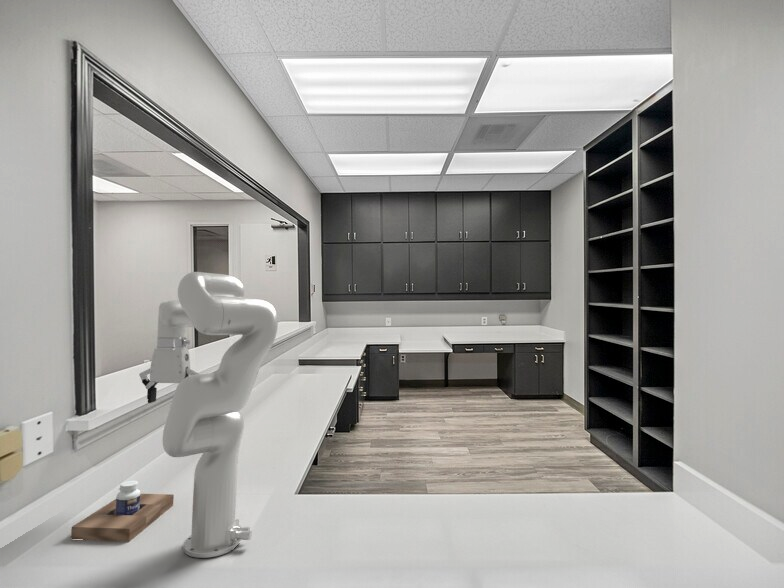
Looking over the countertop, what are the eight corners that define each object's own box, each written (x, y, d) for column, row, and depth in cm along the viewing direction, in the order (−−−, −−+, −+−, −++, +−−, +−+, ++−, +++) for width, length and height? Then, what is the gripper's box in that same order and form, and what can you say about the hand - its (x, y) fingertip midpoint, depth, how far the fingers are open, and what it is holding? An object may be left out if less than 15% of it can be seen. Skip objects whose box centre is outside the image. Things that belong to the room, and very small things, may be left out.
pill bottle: (127, 527, 109) (129, 488, 109) (109, 525, 110) (111, 486, 110) (143, 518, 114) (145, 480, 115) (126, 515, 115) (128, 478, 116)
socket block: (173, 505, 122) (173, 494, 122) (129, 541, 102) (129, 528, 102) (124, 503, 122) (124, 493, 122) (70, 539, 102) (71, 526, 102)
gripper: (206, 343, 130) (203, 401, 129) (149, 342, 131) (146, 399, 130) (194, 345, 123) (191, 406, 122) (134, 343, 123) (131, 404, 122)
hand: (168, 402), depth 126 cm, fingers open, 9 cm apart
